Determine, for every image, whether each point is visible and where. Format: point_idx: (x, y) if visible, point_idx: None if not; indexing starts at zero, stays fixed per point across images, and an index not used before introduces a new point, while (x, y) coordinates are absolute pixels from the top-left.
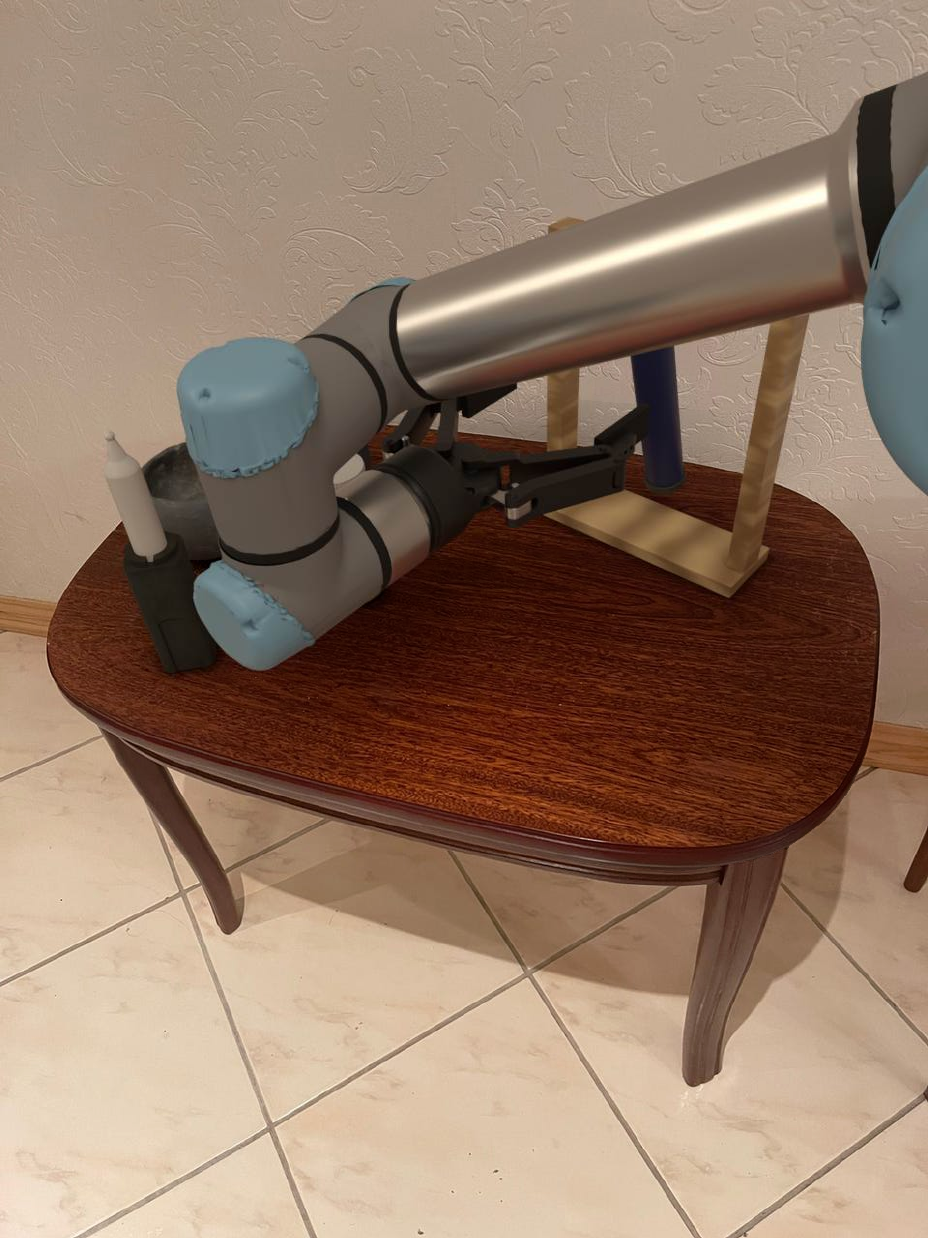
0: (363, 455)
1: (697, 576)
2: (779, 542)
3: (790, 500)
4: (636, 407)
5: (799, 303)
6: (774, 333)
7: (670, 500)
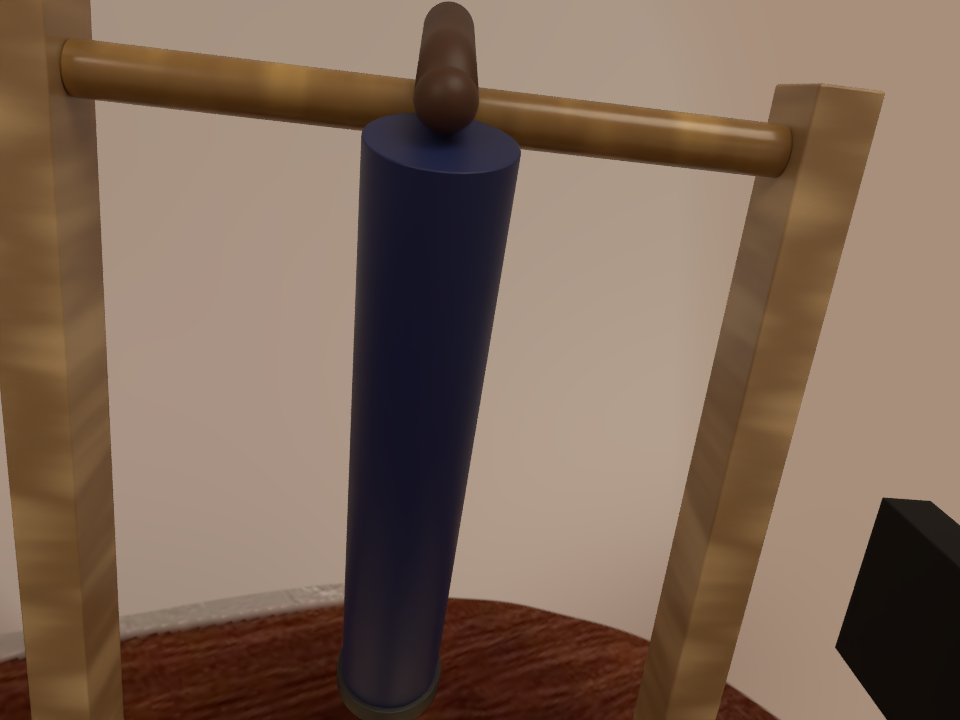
0: None
1: None
2: (617, 714)
3: (546, 615)
4: (926, 532)
5: None
6: (801, 238)
7: None
